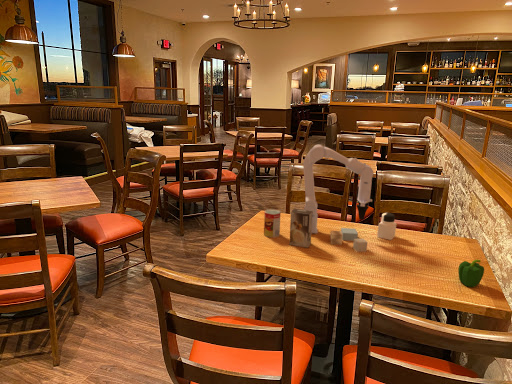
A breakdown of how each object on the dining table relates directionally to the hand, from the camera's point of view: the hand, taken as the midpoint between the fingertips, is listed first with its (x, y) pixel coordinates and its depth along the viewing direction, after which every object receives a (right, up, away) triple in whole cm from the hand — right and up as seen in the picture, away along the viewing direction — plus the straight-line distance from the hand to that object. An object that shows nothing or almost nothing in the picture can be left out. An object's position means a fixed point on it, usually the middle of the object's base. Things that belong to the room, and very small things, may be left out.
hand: (361, 216), depth 185 cm
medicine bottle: (+13, -10, +2) cm, 16 cm away
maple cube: (-14, -12, -7) cm, 20 cm away
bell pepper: (+28, -23, -45) cm, 57 cm away
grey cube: (-5, -14, -15) cm, 21 cm away
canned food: (-45, -9, 0) cm, 46 cm away
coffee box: (-32, -12, -11) cm, 36 cm away
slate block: (-7, -11, -1) cm, 13 cm away
